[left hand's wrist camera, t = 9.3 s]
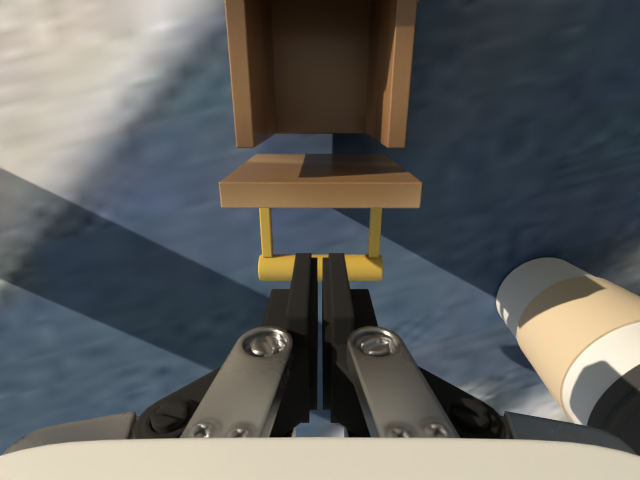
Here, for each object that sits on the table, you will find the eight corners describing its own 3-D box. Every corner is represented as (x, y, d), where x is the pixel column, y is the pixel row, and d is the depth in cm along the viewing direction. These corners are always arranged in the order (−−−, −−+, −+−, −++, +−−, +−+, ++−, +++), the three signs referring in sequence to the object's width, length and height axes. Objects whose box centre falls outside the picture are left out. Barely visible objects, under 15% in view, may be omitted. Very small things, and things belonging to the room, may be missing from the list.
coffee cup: (612, 300, 30) (869, 474, 16) (516, 357, 32) (668, 554, 18) (563, 222, 27) (816, 345, 13) (462, 288, 29) (590, 455, 15)
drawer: (379, 244, 27) (409, 313, 18) (261, 243, 27) (231, 313, 18) (404, -131, 19) (477, -338, 10) (238, -131, 19) (165, -337, 10)
